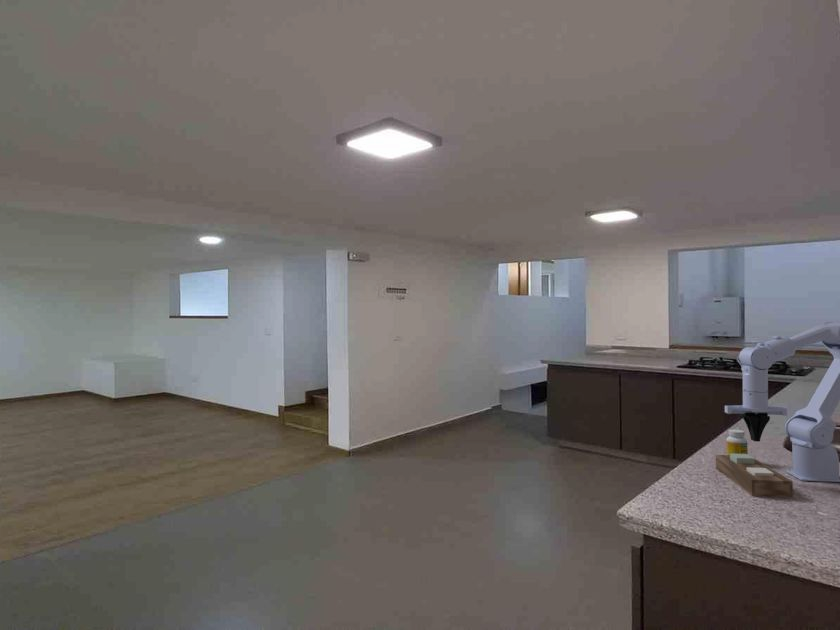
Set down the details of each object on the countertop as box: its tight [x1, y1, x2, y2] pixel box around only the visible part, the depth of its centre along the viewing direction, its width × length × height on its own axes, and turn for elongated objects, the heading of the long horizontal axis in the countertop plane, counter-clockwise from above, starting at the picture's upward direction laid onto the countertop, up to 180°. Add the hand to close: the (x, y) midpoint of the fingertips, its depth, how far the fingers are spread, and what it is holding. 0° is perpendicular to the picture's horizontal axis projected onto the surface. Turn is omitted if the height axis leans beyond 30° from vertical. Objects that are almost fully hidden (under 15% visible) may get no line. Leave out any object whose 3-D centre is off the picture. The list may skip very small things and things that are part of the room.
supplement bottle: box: [725, 429, 749, 455], centre depth 147 cm, size 5×5×10 cm
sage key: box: [730, 453, 756, 464], centre depth 135 cm, size 4×4×3 cm
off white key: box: [746, 467, 774, 476], centre depth 125 cm, size 4×4×3 cm
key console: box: [715, 454, 794, 499], centre depth 130 cm, size 9×22×4 cm, turn 169°
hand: (755, 440), depth 133 cm, fingers closed
